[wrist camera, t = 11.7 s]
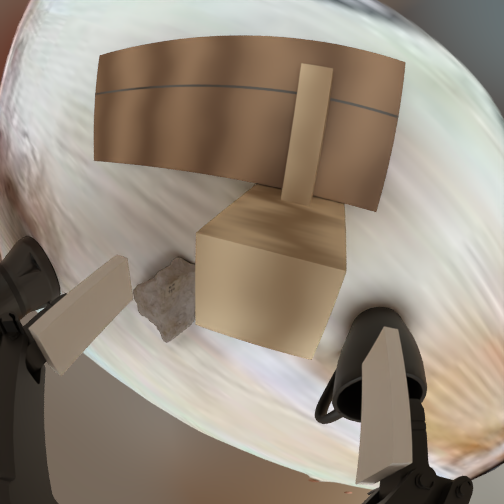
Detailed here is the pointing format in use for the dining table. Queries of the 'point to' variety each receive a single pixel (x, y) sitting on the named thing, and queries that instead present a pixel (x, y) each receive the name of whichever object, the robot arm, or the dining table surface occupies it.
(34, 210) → the dining table surface
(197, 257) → the beige block with bar
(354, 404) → the mug
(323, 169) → the board
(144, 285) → the stone
